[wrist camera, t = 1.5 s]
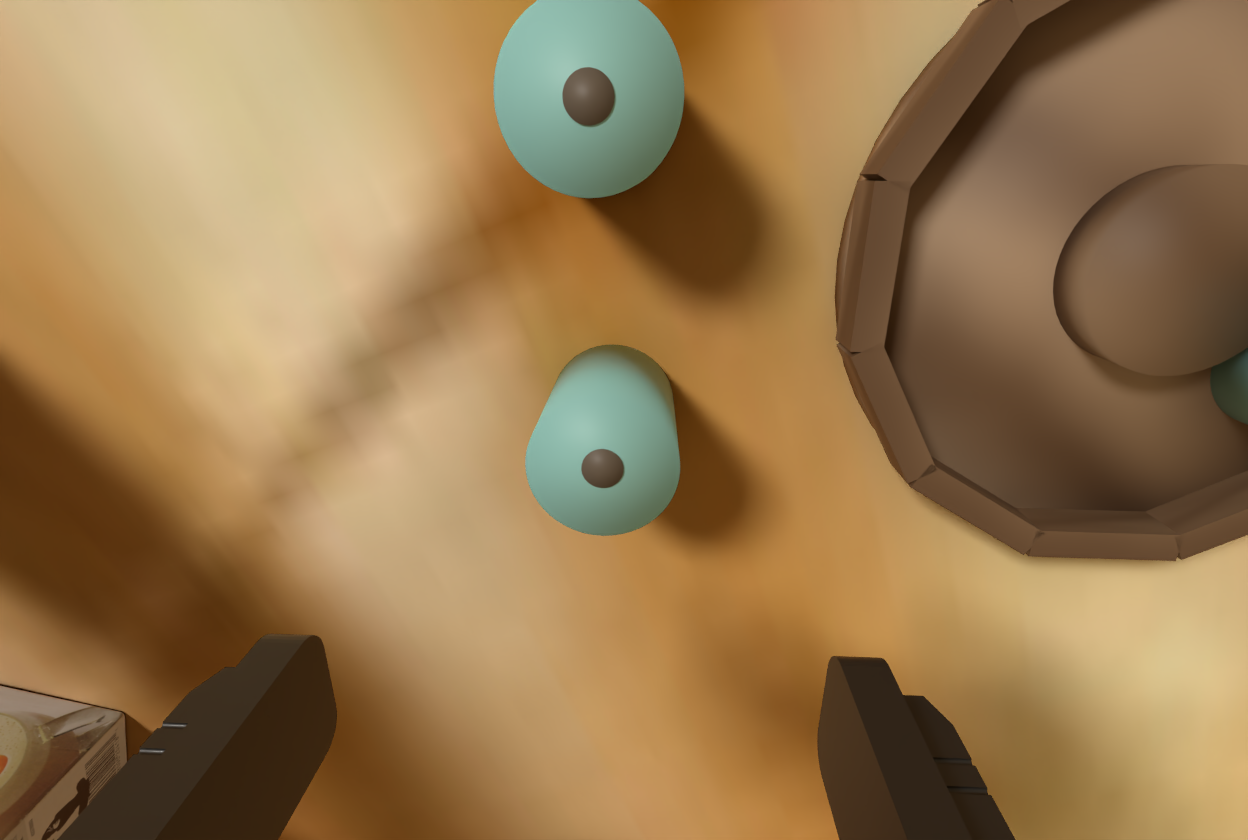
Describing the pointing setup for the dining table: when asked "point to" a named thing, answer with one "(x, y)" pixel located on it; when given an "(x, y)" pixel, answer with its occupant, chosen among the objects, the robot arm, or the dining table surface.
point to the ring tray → (1014, 233)
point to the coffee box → (53, 761)
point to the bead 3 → (1232, 386)
